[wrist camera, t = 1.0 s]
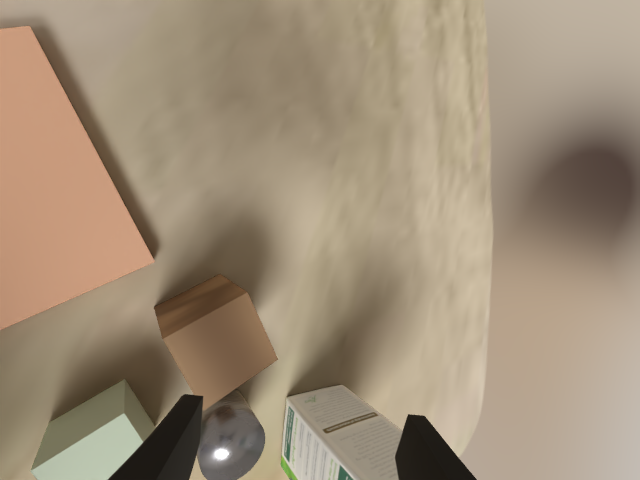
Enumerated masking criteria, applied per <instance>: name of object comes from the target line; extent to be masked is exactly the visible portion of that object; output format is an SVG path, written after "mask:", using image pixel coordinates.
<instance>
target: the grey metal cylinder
mask: <svg viewBox="0 0 640 480" xmlns="http://www.w3.org/2000/svg"><path fill="white" fill-rule="evenodd" d="M264 444H265V433H264V429H263V427H262V426H261V424H260V422H259V421H258V419H257V418H256V416H255V414H254V413H253V411H252V410H251V408H250V406H249V405H248V403H247V402H246V400H245V398H244V397H243V395H242V394H241V393H240V392H239V391H238V390H237V389H234V390H233V391H232V392H230V393H229V394H227V395H226V396H224V397H223V398H221V399H220V400H219V401H217V402H216V403H214V404H213V405H211V406H210V407H208V408H207V409H206V410H204V411H203V409H202V422H201V435H200V444H199V447H198V451H197V454H196V455H197V458H198V462H199V465H200V469H201V472H202V474H203V475H204V477H205V478H206V479H208V480H237V479H239V478H240V477H242V476H243V475H245V474H246V473H247V472H248V471H249V470H250V469H251V468H252V467H253V466H254V465H255V464H256V462H257V461H258V459H259V458H260V456H261V454H262V451H263V448H264Z"/></svg>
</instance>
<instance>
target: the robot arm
mask: <svg viewBox="0 0 640 480" xmlns="http://www.w3.org/2000/svg"><path fill="white" fill-rule="evenodd" d="M202 408H203V396H199V395H188V394H185V395H183V396H182V397H181V398H180V399H179V400H178V402H177V403H176V404H175V406H174V407H173V408H172V409H171V411H170V412H169V413H168V414H167V415H166V417H165V418H164V419H163V420H162V421H161V423H160V424H159V425H158V426H157V427H156V429H155V430H154V431H153V432H152V433H151V434H150V435H149V436H148V438H147V439H146V440H145V441H144V442H143V443H142V444H141V445H140V446H139V448H138V449H137V450H136V451H135V452H134V453H133V454H132V455H131V456H130V457H129V458H128V459H127V460H126V461H125V462H124V463H123V464H122V465H121V466H120V467H119V468H118V469H117V470H116V471H115V473H114V474H113V475H112V476H111V477H110V478H109V479H108V480H189V478H190V475H191V472H192V468H193V465H194V462H195V458H196V454H197V451H198V447H199V444H200V435H201V422H202ZM395 461H396V467H397V473H398V478H399V480H477V479H476V478H475V477H474V476H473V475H472V473H471V472H470V471H469V470H468V469H467V468H466V466H465V465H464V464H463V463H462V462H461V460H460V459H459V458H458V457H457V455H456V454H455V453H454V452H453V451H452V449H451V448H450V447H449V446H448V444H447V443H446V442H445V441H444V439H443V438H442V437H441V436H440V434H439V433H438V432H437V431H436V429H435V428H434V427H433V426H432V424H431V423H430V422H429V421H428V420H427V418H426V417H425V416H420V415H409V414H408V417H407V420H406V423H405V426H404V429H403V432H402V436H401V439H400V442H399V445H398V448H397V451H396V455H395Z"/></svg>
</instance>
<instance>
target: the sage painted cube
mask: <svg viewBox="0 0 640 480" xmlns="http://www.w3.org/2000/svg"><path fill="white" fill-rule="evenodd" d="M155 429H156V428H155V426H154V424H153V423H152V421H151V419H150V418H149V416H148V415H147V413H146V411H145V410H144V408H143V407H142V405H141V404H140V402H139V400H138V399H137V397H136V396H135V394H134V392H133V391H132V389H131V388H130V386H129V385H128V383H127V381H126V380H125V379H124V380H122V381H120V382H119V383H117V384H115V385H113V386H112V387H110V388H108V389H106V390H105V391H103V392H101V393H99V394H98V395H96V396H94V397H93V398H91V399H89V400H87V401H86V402H84V403H82V404H80V405H79V406H77V407H75V408H73V409H72V410H70V411H68V412H67V413H65V414H63V415H61V416H60V417H58V418H56V419H54V420H53V421H51V422H49V424H48V426H47V429H46V432H45V434H44V437H43V440H42V442H41V445H40V447H39V450H38V453H37V455H36V458H35V461H34V463H33V466H32V468H31V473H32V474H33V475H34V476H35V477H36V479H37V480H108V479H109V478H110V477H111V476H112V475H113V474H114V473H115V471H116V470H117V469H118V468H119V467H120V466H121V465H122V464H123V463H124V462H125V461H126V460H127V459H128V458H129V457H130V456H131V455H132V454H133V453H134V452H135V451H136V450H137V449H138V448H139V446H140V445H141V444H142V443H143V442H144V441H145V440H146V439H147V438H148V436H149V435H150V434H151V433H152V432H153V431H154V430H155Z"/></svg>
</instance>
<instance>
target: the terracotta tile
mask: <svg viewBox="0 0 640 480" xmlns="http://www.w3.org/2000/svg"><path fill="white" fill-rule="evenodd" d="M154 262H155V261H154V259H153V257H152V255H151V253H150V252H149V250H148V248H147V246H146V244H145V242H144V240H143V238H142V237H141V235H140V233H139V231H138V229H137V227H136V225H135V223H134V221H133V220H132V218H131V216H130V214H129V212H128V210H127V208H126V206H125V204H124V203H123V201H122V199H121V197H120V195H119V193H118V191H117V189H116V188H115V186H114V184H113V182H112V180H111V178H110V176H109V174H108V172H107V171H106V169H105V167H104V165H103V163H102V161H101V159H100V157H99V155H98V154H97V152H96V150H95V148H94V146H93V144H92V142H91V140H90V138H89V137H88V135H87V133H86V131H85V129H84V127H83V125H82V123H81V122H80V120H79V118H78V116H77V114H76V112H75V110H74V108H73V106H72V105H71V103H70V101H69V99H68V97H67V95H66V93H65V91H64V89H63V88H62V86H61V84H60V82H59V80H58V78H57V76H56V74H55V73H54V71H53V69H52V67H51V65H50V63H49V61H48V59H47V57H46V56H45V54H44V52H43V50H42V48H41V46H40V44H39V42H38V40H37V39H36V37H35V35H34V33H33V31H32V29H31V27H30V26H23V27H13V28H3V29H0V330H2V329H4V328H6V327H9V326H11V325H13V324H16V323H18V322H20V321H22V320H25V319H27V318H29V317H31V316H34V315H36V314H38V313H40V312H43V311H45V310H47V309H50V308H52V307H54V306H56V305H59V304H61V303H63V302H65V301H68V300H70V299H72V298H74V297H77V296H79V295H81V294H84V293H86V292H88V291H90V290H93V289H95V288H97V287H99V286H102V285H104V284H106V283H108V282H111V281H113V280H115V279H118V278H120V277H122V276H124V275H127V274H129V273H131V272H133V271H136V270H138V269H140V268H142V267H145V266H147V265H149V264H151V263H154Z"/></svg>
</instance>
